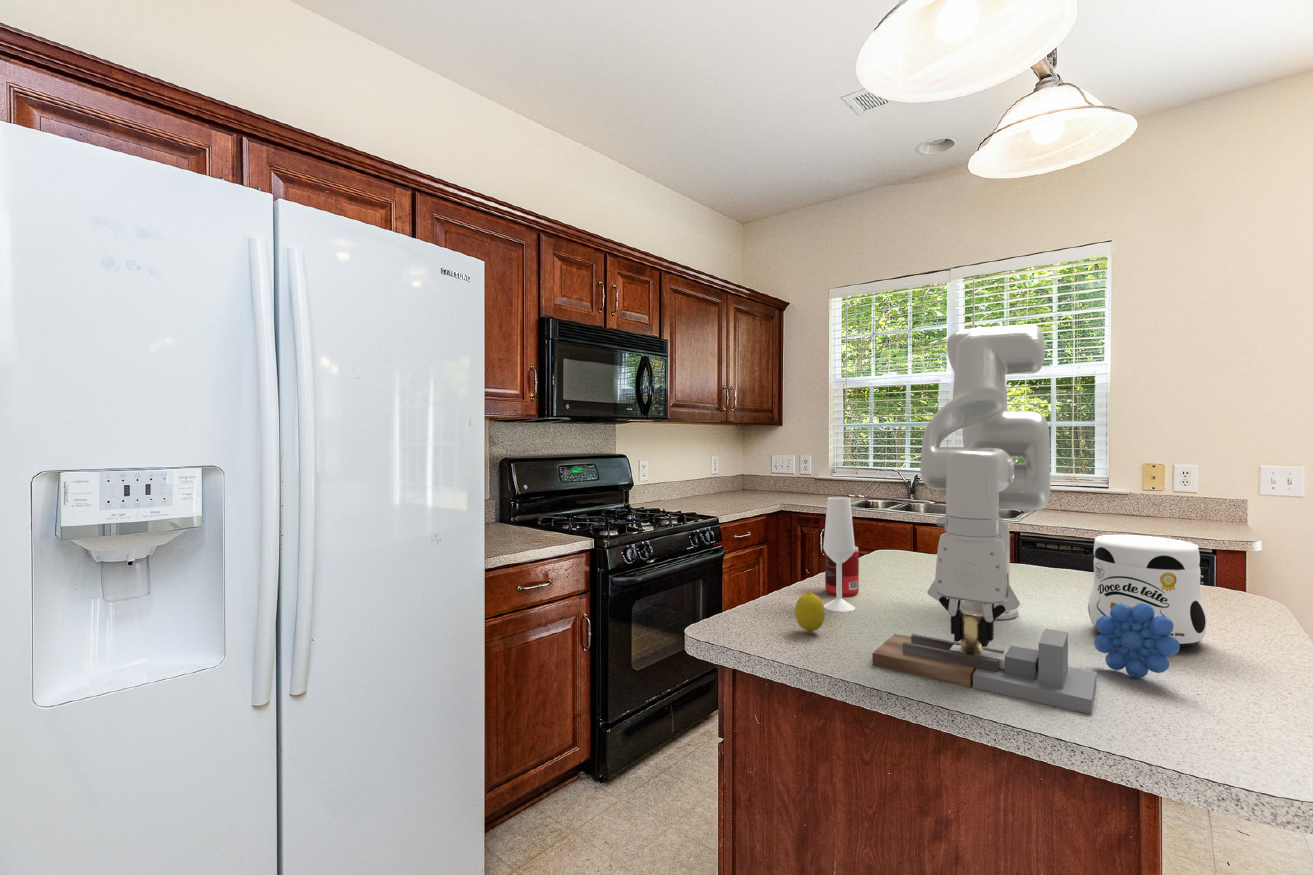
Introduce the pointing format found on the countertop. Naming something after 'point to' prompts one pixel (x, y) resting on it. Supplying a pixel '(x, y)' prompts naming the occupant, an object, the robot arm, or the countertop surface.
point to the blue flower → (1136, 640)
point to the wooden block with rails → (931, 659)
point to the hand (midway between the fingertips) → (972, 640)
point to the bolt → (975, 639)
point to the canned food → (843, 575)
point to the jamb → (1042, 675)
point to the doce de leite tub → (1150, 581)
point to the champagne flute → (839, 544)
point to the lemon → (810, 612)
